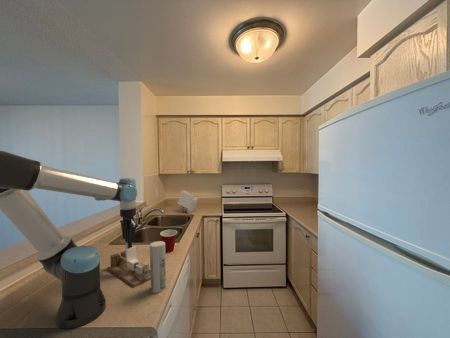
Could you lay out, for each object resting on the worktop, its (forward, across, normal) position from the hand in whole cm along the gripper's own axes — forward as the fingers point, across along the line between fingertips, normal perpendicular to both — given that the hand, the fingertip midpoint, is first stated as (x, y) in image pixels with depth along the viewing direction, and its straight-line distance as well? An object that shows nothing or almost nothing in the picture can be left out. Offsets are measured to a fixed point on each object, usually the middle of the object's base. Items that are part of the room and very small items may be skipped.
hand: (128, 253), depth 108 cm
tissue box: (+10, +82, -113) cm, 140 cm away
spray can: (+10, -25, 0) cm, 27 cm away
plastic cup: (+10, +6, -29) cm, 31 cm away
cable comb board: (+9, -2, 0) cm, 10 cm away
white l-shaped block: (+6, -4, 0) cm, 7 cm away
